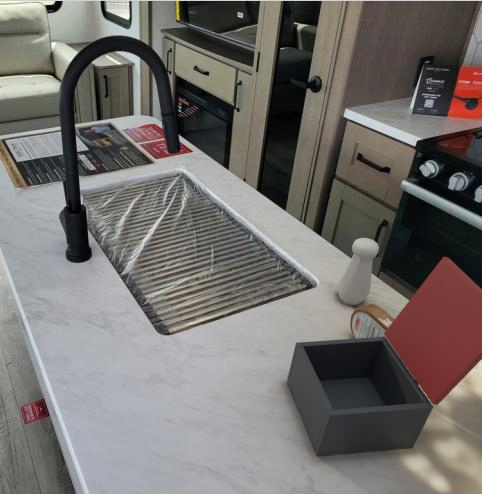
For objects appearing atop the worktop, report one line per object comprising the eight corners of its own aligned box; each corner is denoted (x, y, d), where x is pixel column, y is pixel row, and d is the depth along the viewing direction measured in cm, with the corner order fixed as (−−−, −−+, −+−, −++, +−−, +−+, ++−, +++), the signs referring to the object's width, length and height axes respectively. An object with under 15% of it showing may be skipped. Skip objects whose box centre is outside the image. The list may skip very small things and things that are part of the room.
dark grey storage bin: (316, 456, 64) (330, 415, 59) (286, 382, 74) (295, 342, 70) (412, 448, 65) (433, 407, 60) (369, 376, 76) (384, 336, 71)
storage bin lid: (511, 321, 52) (517, 323, 53) (443, 256, 63) (448, 257, 63) (432, 404, 60) (437, 405, 60) (383, 333, 70) (388, 334, 70)
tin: (425, 393, 73) (443, 355, 68) (409, 400, 72) (427, 361, 67) (356, 329, 84) (368, 292, 80) (342, 334, 83) (353, 297, 79)
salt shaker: (341, 284, 95) (357, 229, 87) (370, 296, 92) (389, 240, 84) (329, 299, 91) (345, 243, 84) (359, 312, 88) (378, 255, 81)
